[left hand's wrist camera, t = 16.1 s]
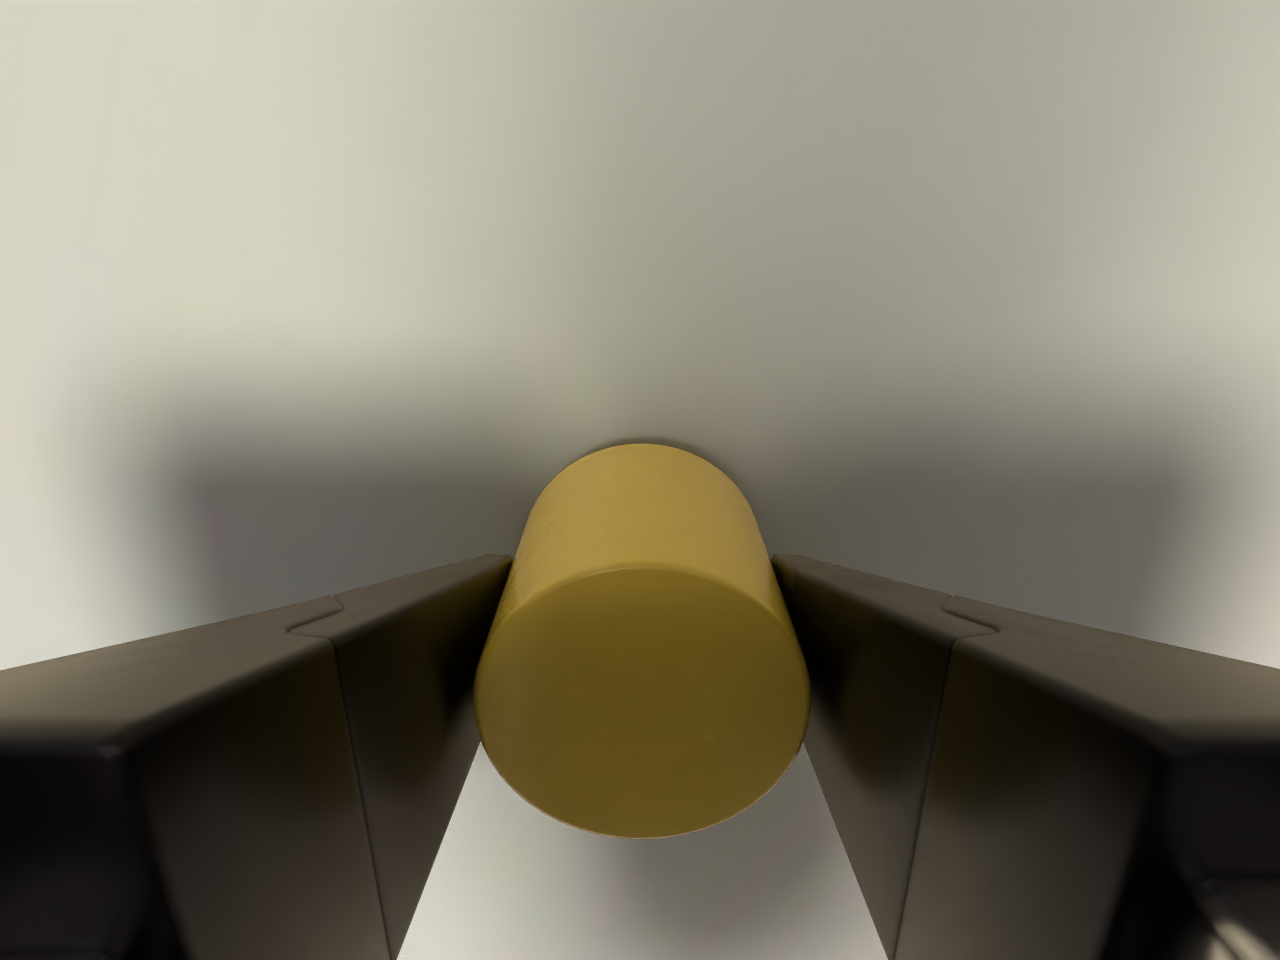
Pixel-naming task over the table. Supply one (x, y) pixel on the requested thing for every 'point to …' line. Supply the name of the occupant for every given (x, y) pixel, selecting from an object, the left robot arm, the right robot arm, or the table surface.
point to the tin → (642, 651)
